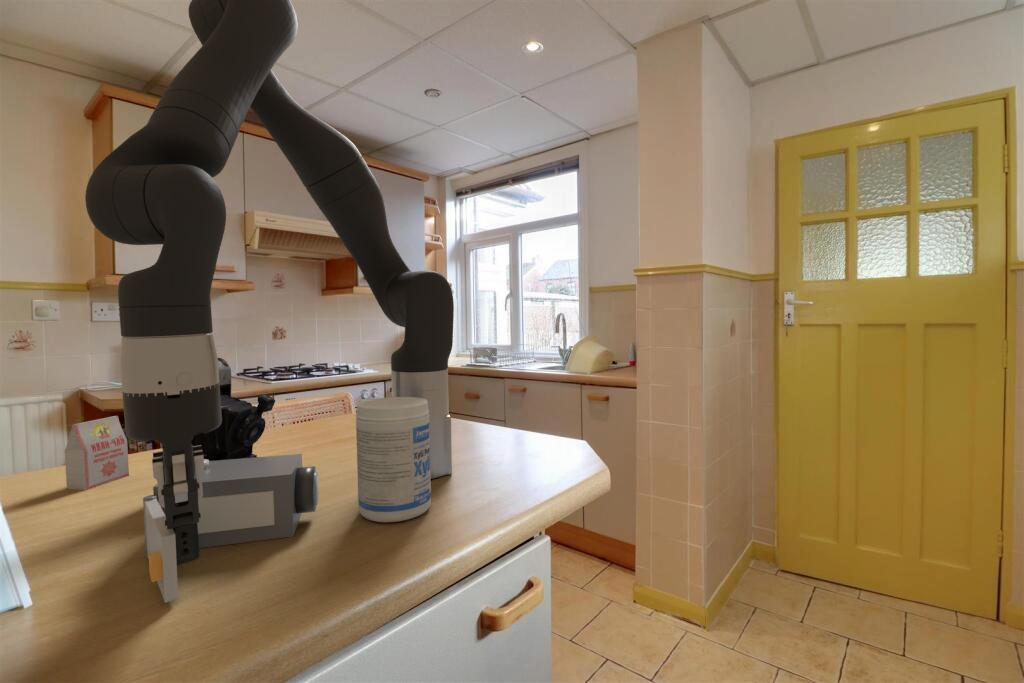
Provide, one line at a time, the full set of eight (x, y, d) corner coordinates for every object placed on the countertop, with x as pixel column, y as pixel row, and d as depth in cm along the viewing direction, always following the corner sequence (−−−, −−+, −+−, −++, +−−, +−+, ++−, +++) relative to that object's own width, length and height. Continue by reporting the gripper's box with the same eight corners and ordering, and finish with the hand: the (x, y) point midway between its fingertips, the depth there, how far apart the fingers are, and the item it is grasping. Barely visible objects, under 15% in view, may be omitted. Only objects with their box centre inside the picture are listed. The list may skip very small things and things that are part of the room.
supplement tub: (433, 521, 62) (431, 406, 61) (355, 529, 60) (352, 410, 59) (429, 494, 71) (427, 394, 70) (361, 500, 69) (358, 397, 68)
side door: (179, 600, 44) (176, 531, 44) (154, 608, 43) (150, 538, 43) (158, 550, 54) (155, 494, 53) (137, 556, 52) (134, 498, 52)
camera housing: (321, 505, 67) (319, 446, 66) (313, 534, 58) (311, 466, 58) (186, 520, 62) (183, 457, 62) (155, 554, 54) (152, 480, 53)
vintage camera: (253, 510, 67) (254, 366, 66) (159, 498, 70) (159, 360, 69) (298, 487, 76) (299, 361, 75) (213, 477, 79) (214, 356, 79)
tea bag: (66, 488, 75) (62, 424, 74) (110, 474, 81) (107, 415, 81) (86, 490, 74) (82, 425, 74) (129, 475, 81) (125, 416, 80)
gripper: (127, 379, 49) (140, 544, 50) (115, 398, 38) (133, 608, 40) (213, 371, 53) (224, 524, 55) (225, 387, 43) (238, 577, 44)
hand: (186, 559), depth 47 cm, fingers closed
